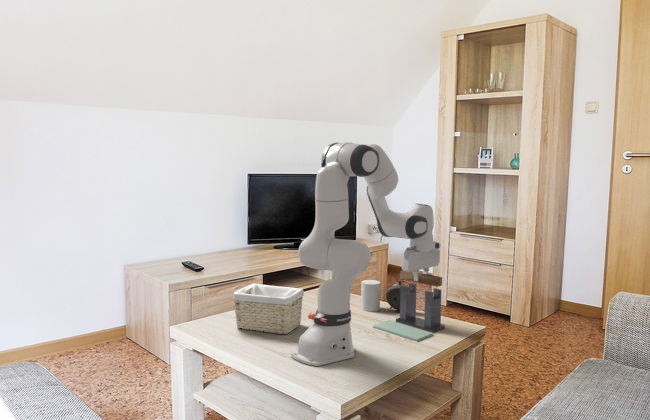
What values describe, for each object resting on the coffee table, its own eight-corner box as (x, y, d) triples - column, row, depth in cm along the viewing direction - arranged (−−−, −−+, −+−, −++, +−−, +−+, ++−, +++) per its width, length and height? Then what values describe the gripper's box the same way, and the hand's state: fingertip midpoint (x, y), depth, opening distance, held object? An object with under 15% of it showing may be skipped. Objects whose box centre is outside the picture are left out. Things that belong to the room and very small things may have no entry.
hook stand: (432, 332, 203) (433, 293, 201) (395, 321, 216) (396, 285, 214) (444, 328, 208) (445, 290, 206) (407, 317, 221) (408, 281, 219)
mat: (416, 341, 193) (416, 339, 193) (373, 327, 208) (373, 325, 208) (432, 335, 200) (433, 333, 200) (389, 322, 215) (389, 320, 215)
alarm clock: (413, 311, 230) (413, 274, 228) (409, 315, 225) (410, 277, 223) (388, 308, 234) (389, 272, 233) (384, 311, 230) (385, 274, 228)
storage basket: (231, 329, 207) (231, 291, 205) (252, 317, 222) (252, 282, 220) (287, 337, 198) (287, 298, 196) (305, 324, 213) (305, 288, 211)
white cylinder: (382, 308, 235) (383, 281, 233) (374, 312, 228) (374, 285, 227) (366, 305, 239) (366, 279, 238) (357, 309, 232) (358, 282, 231)
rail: (437, 286, 202) (437, 278, 202) (399, 278, 215) (399, 270, 215) (442, 285, 204) (442, 277, 204) (404, 277, 217) (404, 269, 217)
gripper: (411, 248, 199) (410, 285, 200) (443, 243, 213) (442, 277, 214) (398, 246, 204) (397, 282, 205) (430, 241, 218) (429, 274, 219)
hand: (420, 279), depth 210 cm, fingers closed on rail, 3 cm apart
